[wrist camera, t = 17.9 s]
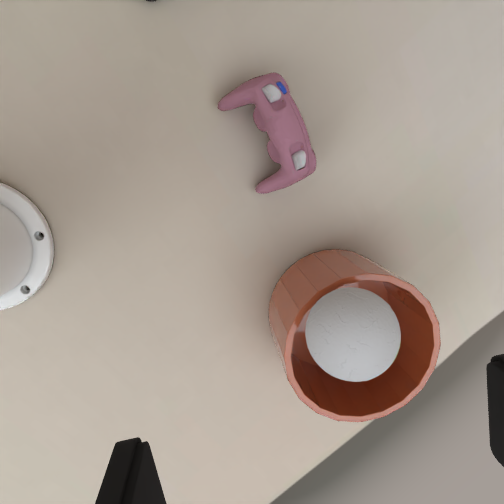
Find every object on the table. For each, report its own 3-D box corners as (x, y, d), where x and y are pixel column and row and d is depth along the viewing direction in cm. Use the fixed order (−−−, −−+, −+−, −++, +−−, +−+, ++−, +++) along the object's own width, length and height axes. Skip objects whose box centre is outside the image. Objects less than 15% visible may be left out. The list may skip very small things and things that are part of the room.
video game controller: (288, 180, 41) (334, 168, 35) (254, 199, 39) (297, 190, 33) (248, 86, 38) (290, 55, 32) (210, 101, 36) (247, 72, 30)
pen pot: (279, 379, 44) (298, 437, 35) (258, 263, 41) (272, 293, 31) (396, 353, 45) (445, 402, 35) (384, 237, 41) (434, 258, 32)
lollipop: (345, 355, 42) (388, 413, 27) (284, 327, 42) (293, 368, 27) (373, 294, 42) (433, 319, 27) (312, 266, 42) (337, 274, 27)
